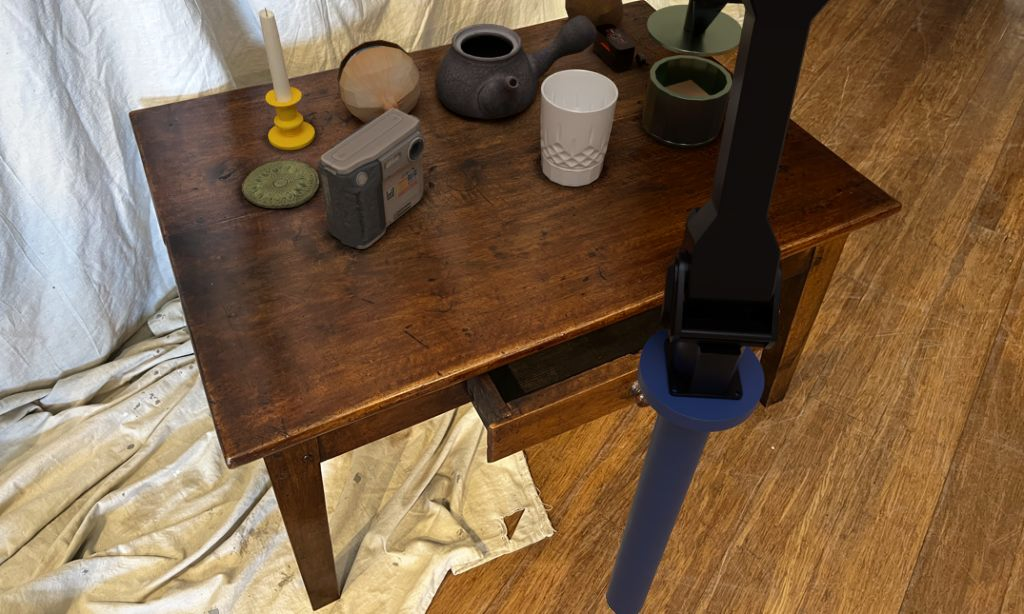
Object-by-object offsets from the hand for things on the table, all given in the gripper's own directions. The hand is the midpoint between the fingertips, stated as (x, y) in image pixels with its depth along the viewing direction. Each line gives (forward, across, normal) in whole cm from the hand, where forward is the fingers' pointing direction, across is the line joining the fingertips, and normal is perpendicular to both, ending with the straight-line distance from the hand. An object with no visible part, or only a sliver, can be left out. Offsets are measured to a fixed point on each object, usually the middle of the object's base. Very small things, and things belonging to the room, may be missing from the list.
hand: (696, 26), depth 85 cm
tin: (+13, -1, +1) cm, 13 cm away
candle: (+13, +6, -44) cm, 47 cm away
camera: (+13, +18, -32) cm, 39 cm away
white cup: (+13, +9, -12) cm, 20 cm away
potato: (+8, -24, -6) cm, 26 cm away
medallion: (+13, +15, -43) cm, 48 cm away
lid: (+1, 0, 0) cm, 1 cm away
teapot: (+13, -4, -19) cm, 24 cm away
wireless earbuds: (+13, -14, -6) cm, 20 cm away
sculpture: (+13, +2, -34) cm, 37 cm away
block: (+12, -1, +1) cm, 12 cm away
